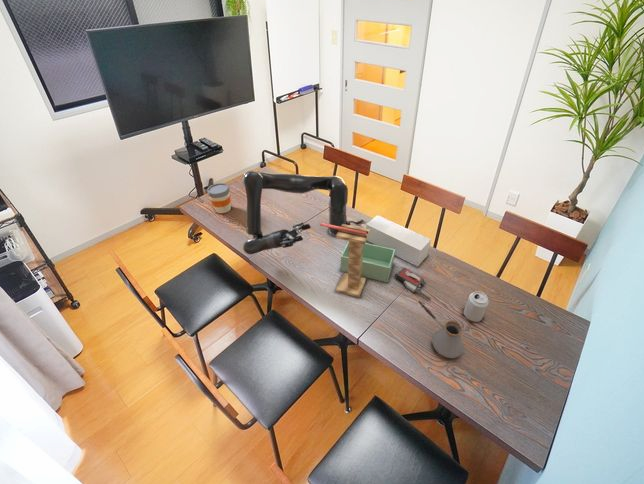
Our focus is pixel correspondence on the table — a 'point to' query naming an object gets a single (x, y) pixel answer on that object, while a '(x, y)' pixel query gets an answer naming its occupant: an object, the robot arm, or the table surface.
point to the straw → (342, 228)
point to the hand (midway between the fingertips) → (305, 231)
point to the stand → (353, 261)
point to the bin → (372, 261)
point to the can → (476, 306)
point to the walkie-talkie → (411, 281)
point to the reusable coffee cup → (220, 197)
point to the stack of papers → (398, 240)
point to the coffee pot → (447, 338)
